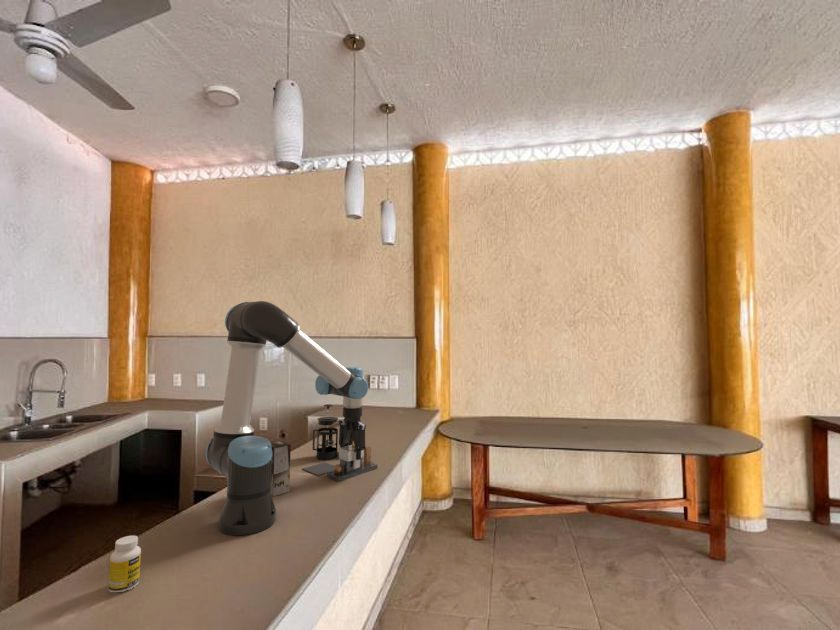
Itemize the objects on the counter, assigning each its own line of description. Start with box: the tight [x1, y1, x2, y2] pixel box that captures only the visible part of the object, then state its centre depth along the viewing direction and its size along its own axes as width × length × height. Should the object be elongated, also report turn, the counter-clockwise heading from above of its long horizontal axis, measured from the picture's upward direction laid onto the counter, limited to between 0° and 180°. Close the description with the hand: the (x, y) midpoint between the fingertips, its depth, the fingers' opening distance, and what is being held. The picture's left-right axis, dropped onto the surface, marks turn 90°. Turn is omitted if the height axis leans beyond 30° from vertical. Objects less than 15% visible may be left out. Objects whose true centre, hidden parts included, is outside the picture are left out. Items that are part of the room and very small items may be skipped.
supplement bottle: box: [107, 535, 142, 593], centre depth 87 cm, size 5×5×10 cm
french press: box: [312, 404, 339, 461], centre depth 180 cm, size 12×9×23 cm
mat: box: [301, 461, 335, 477], centre depth 163 cm, size 11×11×1 cm
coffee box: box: [270, 439, 292, 497], centre depth 141 cm, size 9×6×16 cm
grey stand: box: [326, 445, 379, 483], centre depth 160 cm, size 20×7×8 cm, turn 140°
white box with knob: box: [338, 441, 364, 462], centre depth 159 cm, size 8×6×6 cm
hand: (351, 465), depth 159 cm, fingers closed on white box with knob, 6 cm apart
